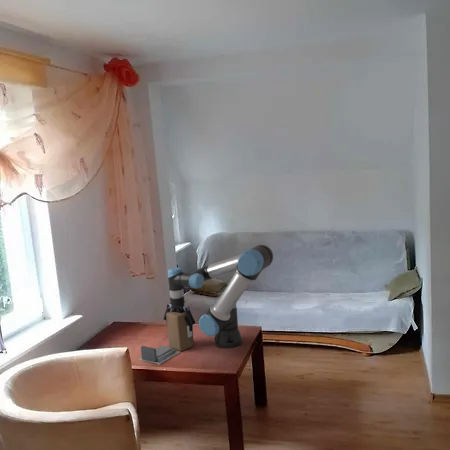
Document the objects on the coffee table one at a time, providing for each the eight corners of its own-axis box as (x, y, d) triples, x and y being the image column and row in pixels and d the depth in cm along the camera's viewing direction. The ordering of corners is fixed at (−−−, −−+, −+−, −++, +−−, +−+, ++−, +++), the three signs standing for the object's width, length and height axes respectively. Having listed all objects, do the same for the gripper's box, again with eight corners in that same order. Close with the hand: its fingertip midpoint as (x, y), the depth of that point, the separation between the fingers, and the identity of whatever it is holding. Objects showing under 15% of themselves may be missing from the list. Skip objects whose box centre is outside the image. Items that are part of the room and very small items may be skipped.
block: (168, 348, 294) (165, 312, 290) (182, 342, 301) (179, 307, 297) (180, 352, 287) (177, 316, 283) (194, 346, 294) (191, 310, 290)
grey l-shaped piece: (179, 352, 286) (178, 339, 285) (159, 364, 273) (157, 350, 272) (159, 348, 294) (158, 335, 293) (138, 360, 281) (137, 346, 280)
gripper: (199, 297, 285) (203, 335, 289) (163, 292, 299) (167, 328, 303) (191, 301, 279) (194, 340, 282) (154, 296, 293) (158, 333, 297)
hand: (180, 334), depth 293 cm, fingers open, 13 cm apart
